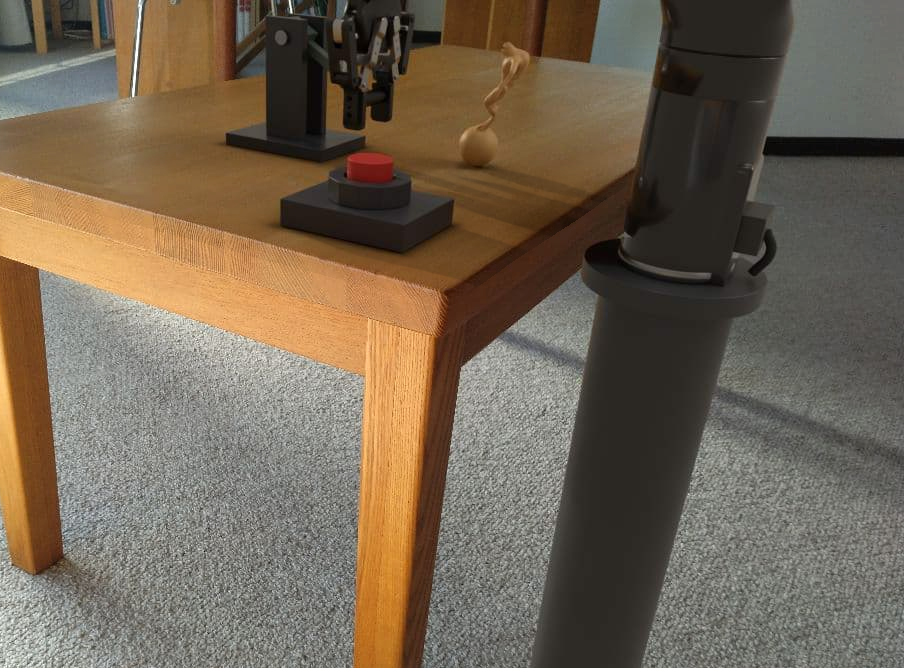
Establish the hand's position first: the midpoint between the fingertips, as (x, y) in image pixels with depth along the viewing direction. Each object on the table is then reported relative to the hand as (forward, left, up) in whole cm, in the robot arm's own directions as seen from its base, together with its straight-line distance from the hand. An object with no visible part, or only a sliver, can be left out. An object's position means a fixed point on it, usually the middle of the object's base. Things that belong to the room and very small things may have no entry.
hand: (367, 124), depth 91 cm
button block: (-11, +20, -3) cm, 23 cm away
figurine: (-11, -5, -4) cm, 13 cm away
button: (-11, +20, 0) cm, 23 cm away
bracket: (+9, 0, -3) cm, 9 cm away
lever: (+5, 0, +4) cm, 7 cm away
